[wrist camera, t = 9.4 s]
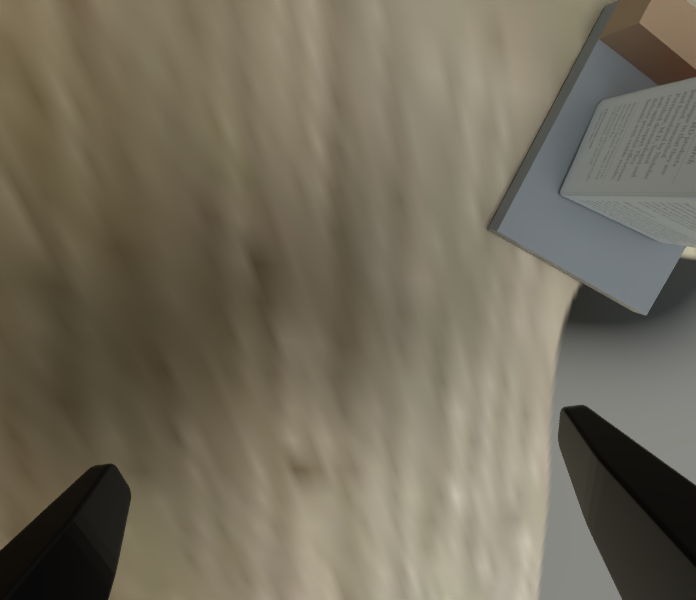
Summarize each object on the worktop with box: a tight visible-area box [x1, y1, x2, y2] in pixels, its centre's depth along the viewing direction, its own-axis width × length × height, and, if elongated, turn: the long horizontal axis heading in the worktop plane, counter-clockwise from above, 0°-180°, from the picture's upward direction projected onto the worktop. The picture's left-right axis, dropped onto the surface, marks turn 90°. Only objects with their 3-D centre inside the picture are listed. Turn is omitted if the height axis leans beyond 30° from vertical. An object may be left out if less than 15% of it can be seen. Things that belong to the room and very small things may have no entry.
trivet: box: [488, 0, 696, 315], centre depth 20 cm, size 10×9×3 cm
